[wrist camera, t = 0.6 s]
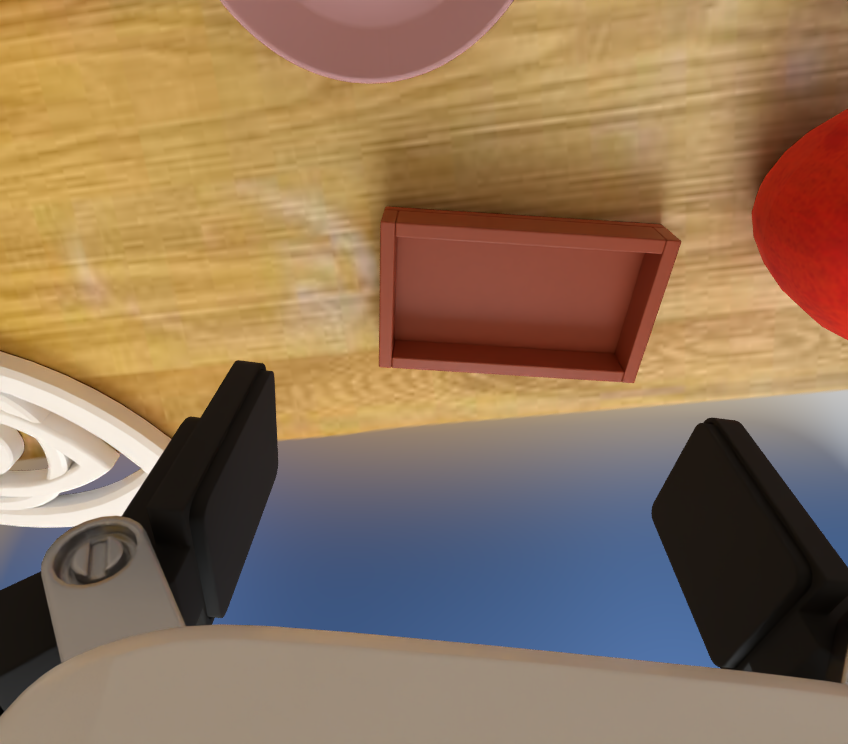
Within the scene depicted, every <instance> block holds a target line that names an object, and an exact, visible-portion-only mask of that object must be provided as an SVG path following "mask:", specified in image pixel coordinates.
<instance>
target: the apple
mask: <svg viewBox="0 0 848 744" xmlns="http://www.w3.org/2000/svg"><path fill="white" fill-rule="evenodd" d="M752 222H753V235H754V239H755V241H756V244H757V247H758V249H759V252H760V254H761V257H762V260H763V262H764V264H765V265H766V267H767V268H768V270H769V271H770V273H771V274H772V276H773V277H774V279H775V280H776V282H777V283H778V285H779V286H780V288H781V289H782V290H783V291H784V292H785V293H786V294H787V295H788V296H789V297H790V298H791V299H792V300H793V301H794V302H796V303H797V304H798V305H799V306H800V307H801V308H802V309H803V310H804V311H805V312H806V313H807V314H809V315H810V316H811V317H812V318H813V319H814V320H815V321H816V322H817V323H819V324H820V325H821V326H822V327H824V328H826V329H828V330H830V331H831V332H833V333H835V334H837V335H839V336H841V337H843V338H845V339H847V340H848V109H846V110H844V111H843V112H841V113H839V114H838V115H836V116H834V117H833V118H831V119H829V120H827V121H826V122H824V123H822V124H821V125H819V126H817V127H816V128H814V129H812V130H811V131H809V132H808V133H807V134H805V135H804V136H803V137H802V138H801V139H799V140H798V141H797V142H796V143H795V144H793V145H792V146H791V147H790V148H789V149H787V150H786V151H785V152H784V154H783V155H782V156H781V157H780V159H779V160H778V161H777V162H776V164H775V165H774V166H773V167H772V168H771V170H770V171H769V172H768V173H767V175H766V176H765V178H764V180H763V182H762V184H761V185H760V187H759V190H758V193H757V196H756V199H755V203H754V206H753V210H752Z"/></svg>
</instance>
